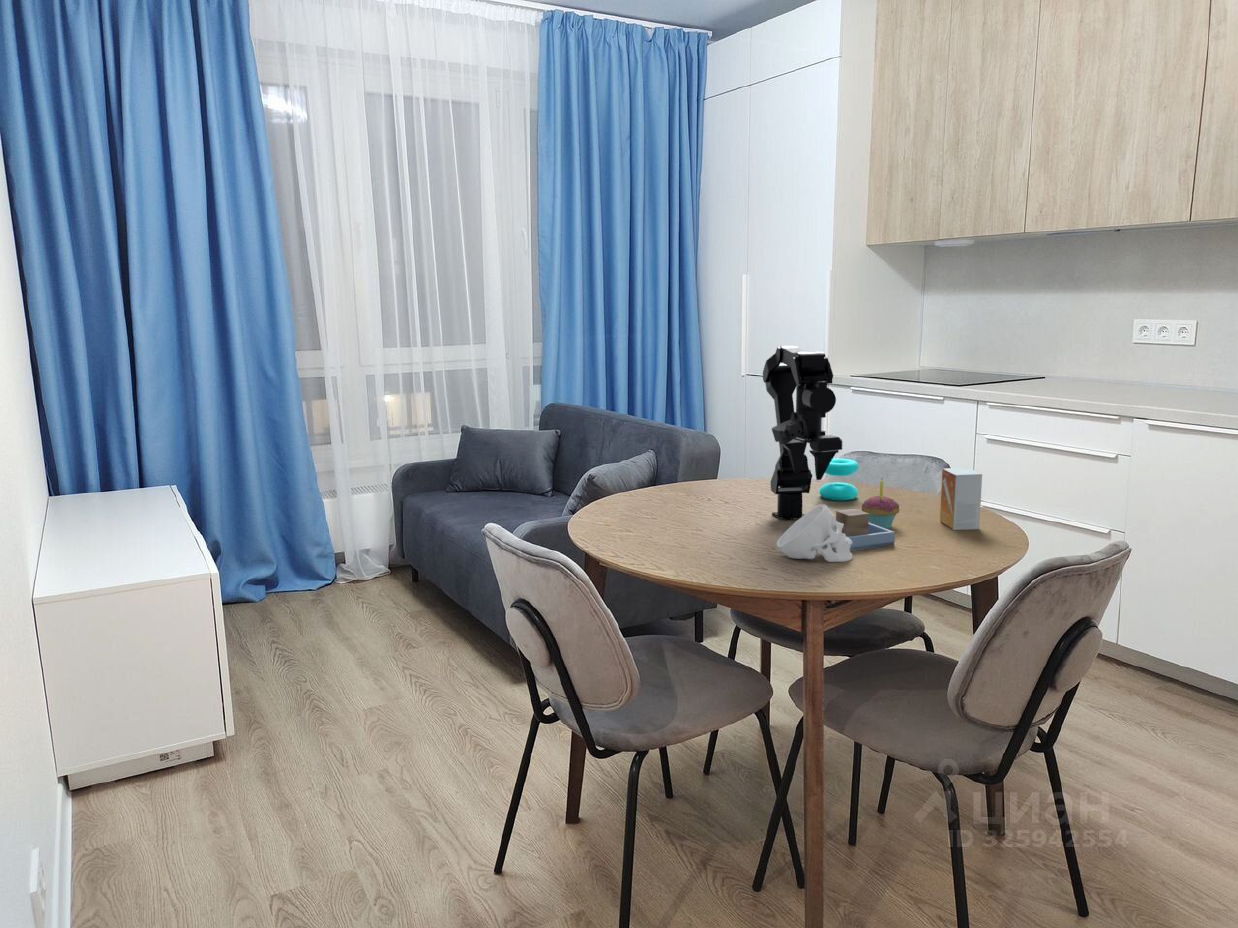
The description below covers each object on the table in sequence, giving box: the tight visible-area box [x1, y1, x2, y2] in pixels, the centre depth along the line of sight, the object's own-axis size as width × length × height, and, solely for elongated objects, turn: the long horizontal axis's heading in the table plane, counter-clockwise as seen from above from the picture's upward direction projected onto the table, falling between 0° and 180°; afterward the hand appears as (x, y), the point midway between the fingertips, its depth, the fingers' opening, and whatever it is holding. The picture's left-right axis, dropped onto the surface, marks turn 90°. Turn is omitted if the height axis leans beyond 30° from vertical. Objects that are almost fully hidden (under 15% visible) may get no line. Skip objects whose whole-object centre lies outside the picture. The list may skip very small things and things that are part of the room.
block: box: [835, 508, 869, 537], centre depth 199 cm, size 5×5×6 cm
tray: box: [848, 523, 896, 552], centre depth 199 cm, size 12×14×3 cm
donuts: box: [819, 457, 860, 502], centre depth 242 cm, size 10×10×10 cm
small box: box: [939, 467, 983, 531], centre depth 211 cm, size 8×6×13 cm
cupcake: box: [861, 477, 900, 530], centre depth 211 cm, size 9×8×12 cm
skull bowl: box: [776, 503, 853, 563], centre depth 188 cm, size 10×14×12 cm
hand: (807, 476), depth 207 cm, fingers open, 9 cm apart
